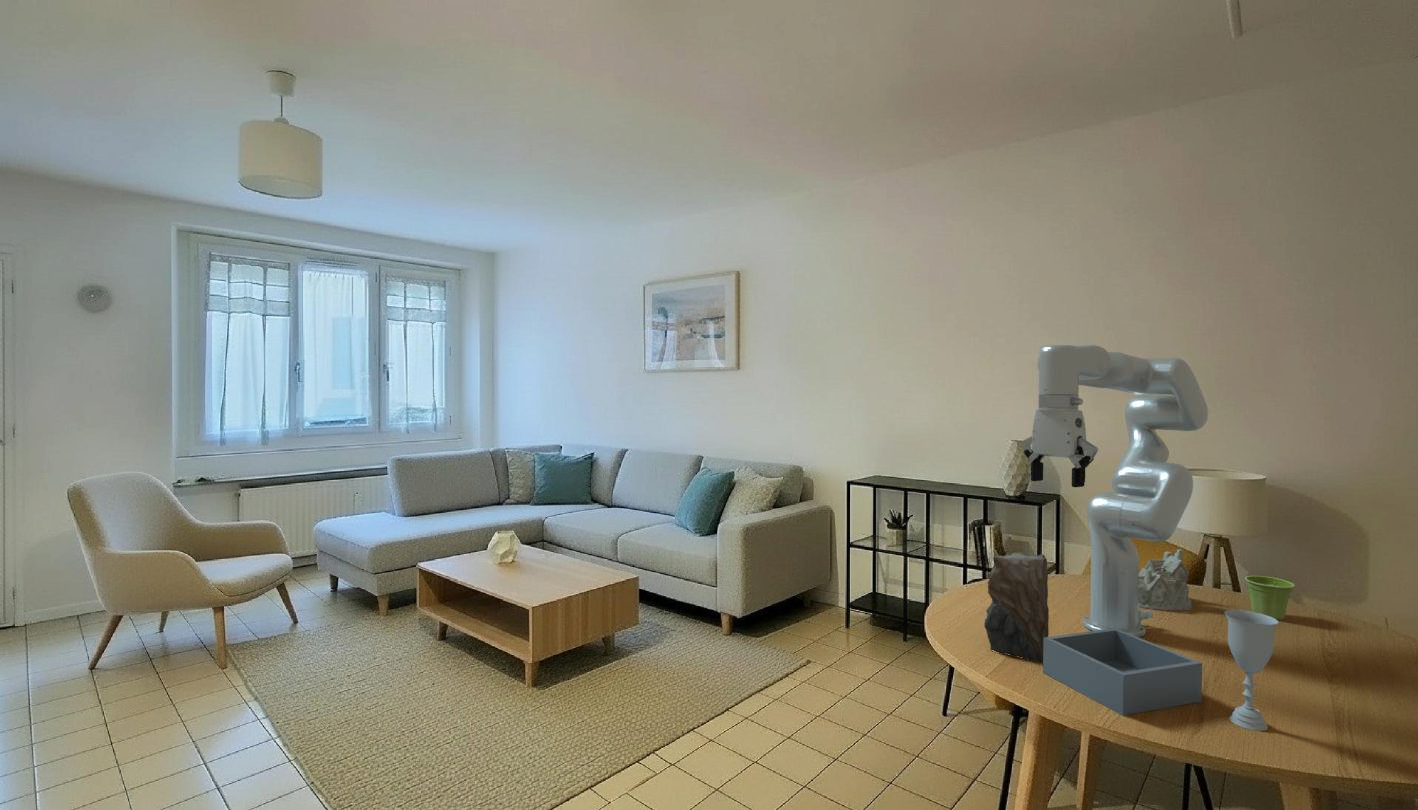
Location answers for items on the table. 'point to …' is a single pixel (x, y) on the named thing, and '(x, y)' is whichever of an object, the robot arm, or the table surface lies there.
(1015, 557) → the grey faceted rock
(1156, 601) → the ceramic cottage
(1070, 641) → the bin
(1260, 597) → the plant pot
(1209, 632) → the table surface
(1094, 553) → the robot arm
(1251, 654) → the chalice
